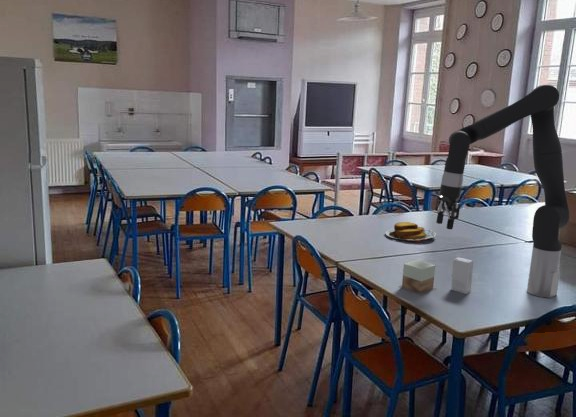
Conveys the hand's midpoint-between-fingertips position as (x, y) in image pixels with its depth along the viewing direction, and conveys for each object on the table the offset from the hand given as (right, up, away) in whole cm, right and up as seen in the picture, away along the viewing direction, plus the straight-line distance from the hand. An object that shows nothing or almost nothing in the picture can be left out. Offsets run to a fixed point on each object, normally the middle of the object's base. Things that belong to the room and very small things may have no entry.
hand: (444, 226), depth 203 cm
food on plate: (+2, -8, +66) cm, 67 cm away
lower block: (-12, -22, -7) cm, 26 cm away
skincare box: (+4, -24, -8) cm, 25 cm away
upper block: (-12, -18, -8) cm, 23 cm away
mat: (-12, -23, -7) cm, 27 cm away
